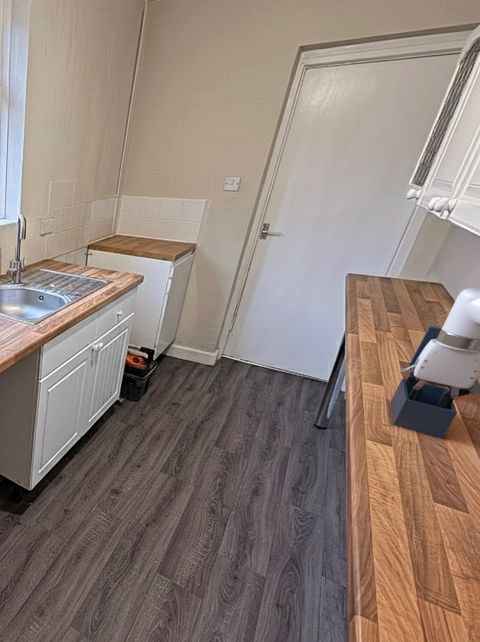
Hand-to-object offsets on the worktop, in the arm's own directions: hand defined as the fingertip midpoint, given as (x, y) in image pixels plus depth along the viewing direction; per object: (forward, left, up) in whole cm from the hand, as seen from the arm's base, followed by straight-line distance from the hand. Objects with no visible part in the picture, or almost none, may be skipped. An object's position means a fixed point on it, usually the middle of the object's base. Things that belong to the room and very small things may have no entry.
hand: (427, 404), depth 106 cm
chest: (0, -4, -6) cm, 7 cm away
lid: (-1, -10, +10) cm, 14 cm away
